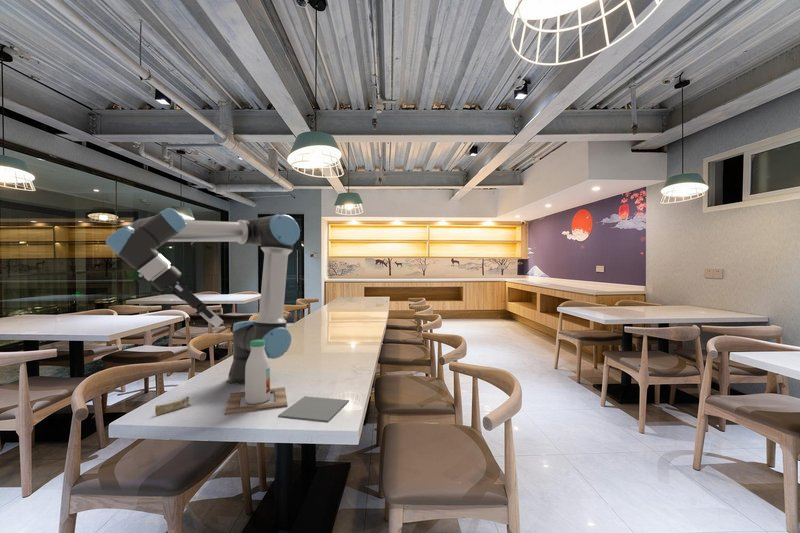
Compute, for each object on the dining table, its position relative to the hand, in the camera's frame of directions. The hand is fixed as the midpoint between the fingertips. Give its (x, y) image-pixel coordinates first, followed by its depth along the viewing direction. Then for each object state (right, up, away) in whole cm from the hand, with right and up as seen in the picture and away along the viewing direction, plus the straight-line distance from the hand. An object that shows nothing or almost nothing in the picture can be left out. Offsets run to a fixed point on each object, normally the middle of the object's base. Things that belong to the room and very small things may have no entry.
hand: (216, 322), depth 112 cm
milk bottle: (+11, -27, +6) cm, 30 cm away
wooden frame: (+11, -27, +6) cm, 30 cm away
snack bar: (-13, -27, -2) cm, 30 cm away
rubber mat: (+32, -27, -1) cm, 42 cm away
